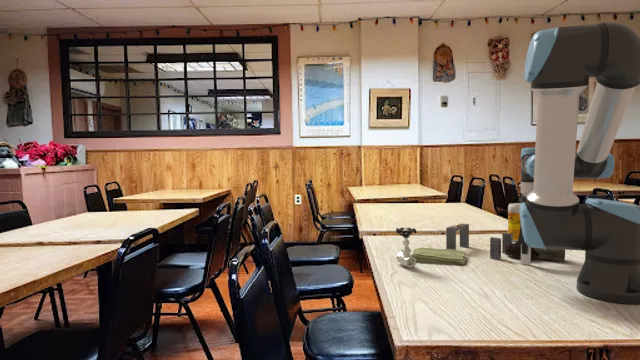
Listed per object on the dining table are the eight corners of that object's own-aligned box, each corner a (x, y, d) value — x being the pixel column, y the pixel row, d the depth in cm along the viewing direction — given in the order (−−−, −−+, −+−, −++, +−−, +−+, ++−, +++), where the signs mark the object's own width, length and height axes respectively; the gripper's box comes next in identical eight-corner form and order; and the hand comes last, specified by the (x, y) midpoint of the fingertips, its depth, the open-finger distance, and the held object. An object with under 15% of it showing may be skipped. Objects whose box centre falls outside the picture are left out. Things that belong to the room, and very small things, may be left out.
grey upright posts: (499, 259, 135) (499, 232, 134) (446, 251, 148) (446, 226, 148) (512, 253, 143) (512, 227, 143) (461, 245, 157) (461, 222, 156)
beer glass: (504, 240, 165) (504, 203, 164) (515, 238, 167) (515, 202, 166) (517, 243, 159) (517, 205, 158) (528, 241, 162) (528, 204, 161)
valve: (401, 270, 125) (401, 231, 124) (392, 264, 131) (391, 228, 130) (420, 268, 127) (420, 230, 126) (410, 263, 133) (410, 226, 132)
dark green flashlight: (564, 260, 133) (564, 243, 133) (565, 265, 128) (565, 248, 127) (505, 255, 142) (505, 239, 141) (503, 259, 136) (504, 243, 135)
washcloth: (466, 267, 128) (466, 257, 128) (409, 263, 134) (409, 253, 134) (465, 257, 140) (465, 248, 140) (413, 254, 146) (413, 245, 146)
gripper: (533, 191, 143) (533, 251, 144) (506, 197, 126) (506, 265, 127) (557, 192, 138) (556, 254, 139) (532, 199, 120) (532, 269, 122)
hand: (532, 260), depth 133 cm, fingers open, 12 cm apart
